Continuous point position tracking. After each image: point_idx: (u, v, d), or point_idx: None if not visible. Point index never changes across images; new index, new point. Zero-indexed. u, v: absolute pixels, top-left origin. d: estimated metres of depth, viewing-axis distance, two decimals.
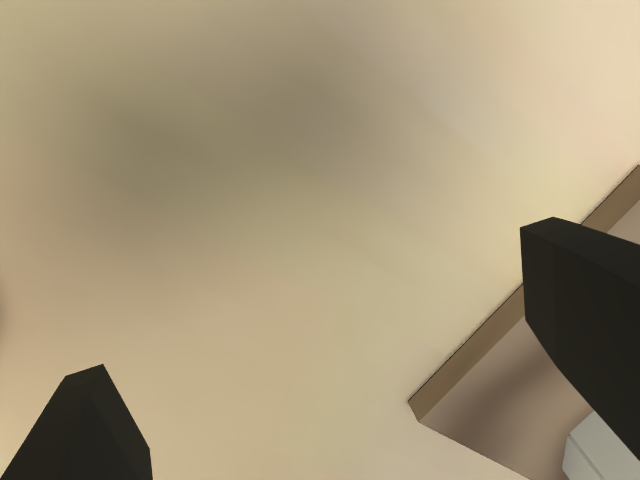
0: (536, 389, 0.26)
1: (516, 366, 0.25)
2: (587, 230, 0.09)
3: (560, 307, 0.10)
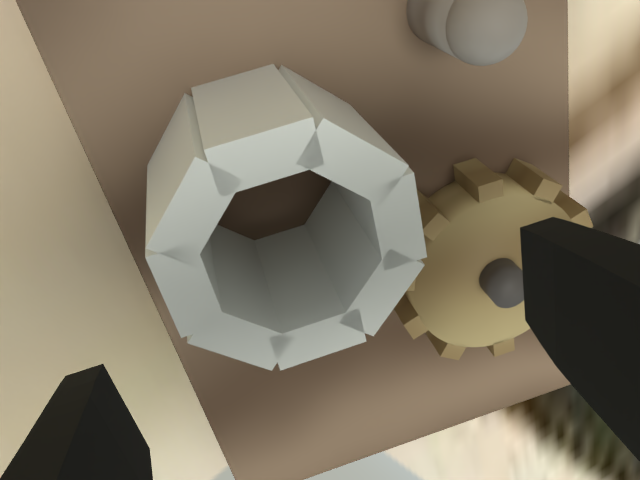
0: None
1: None
2: (587, 231, 0.09)
3: (560, 307, 0.10)
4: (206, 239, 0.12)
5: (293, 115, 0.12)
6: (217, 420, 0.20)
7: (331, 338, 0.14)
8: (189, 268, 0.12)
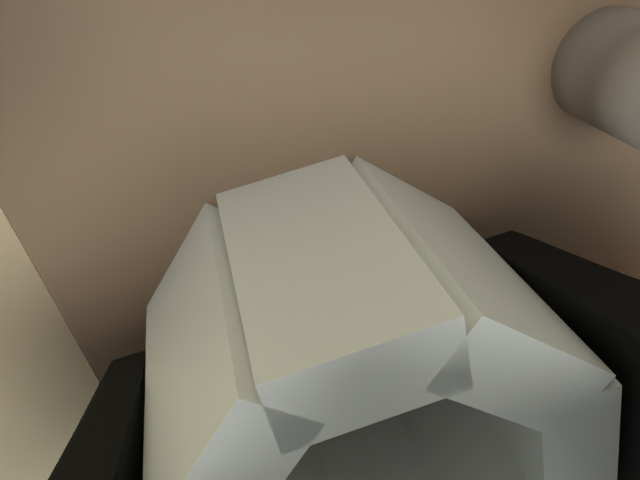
0: None
1: None
2: (541, 245, 0.09)
3: None
4: None
5: (419, 302, 0.06)
6: None
7: None
8: None
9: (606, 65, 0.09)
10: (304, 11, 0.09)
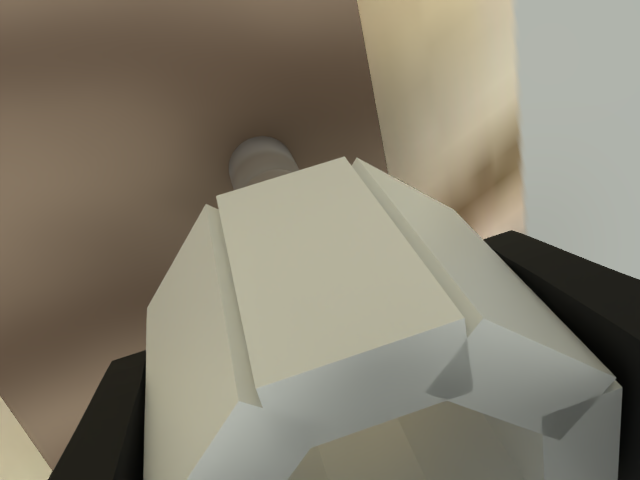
0: None
1: None
2: (541, 245, 0.09)
3: None
4: None
5: (420, 304, 0.06)
6: None
7: None
8: None
9: (235, 177, 0.16)
10: (66, 148, 0.16)
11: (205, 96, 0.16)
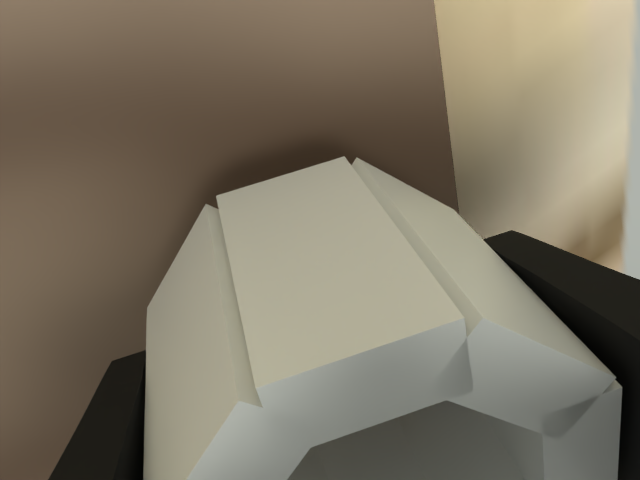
0: None
1: None
2: (541, 245, 0.09)
3: None
4: None
5: (420, 304, 0.06)
6: None
7: None
8: None
9: None
10: (32, 247, 0.11)
11: (225, 173, 0.11)
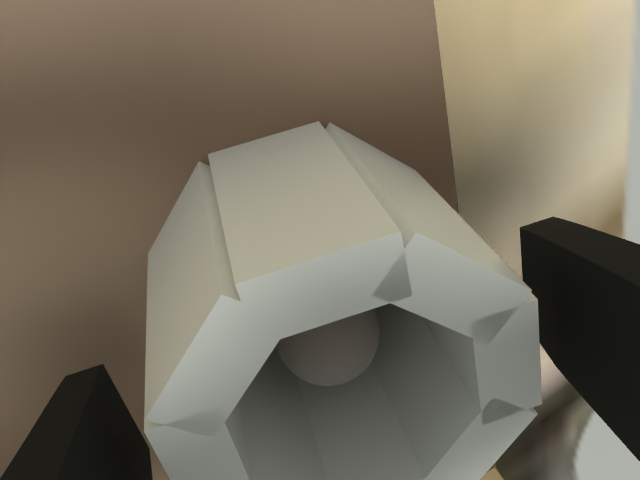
0: None
1: None
2: (586, 230, 0.09)
3: (560, 307, 0.10)
4: (235, 402, 0.08)
5: (368, 224, 0.08)
6: None
7: None
8: (209, 440, 0.08)
9: None
10: (32, 247, 0.11)
11: None
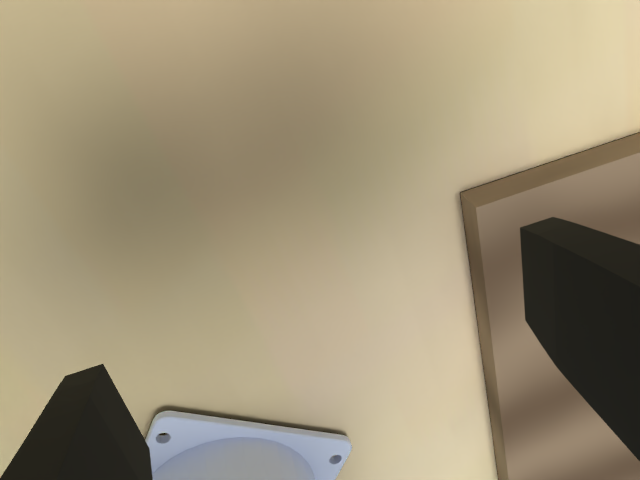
0: None
1: (595, 211, 0.21)
2: (586, 230, 0.09)
3: (560, 307, 0.10)
4: None
5: None
6: None
7: None
8: None
9: None
10: None
11: None
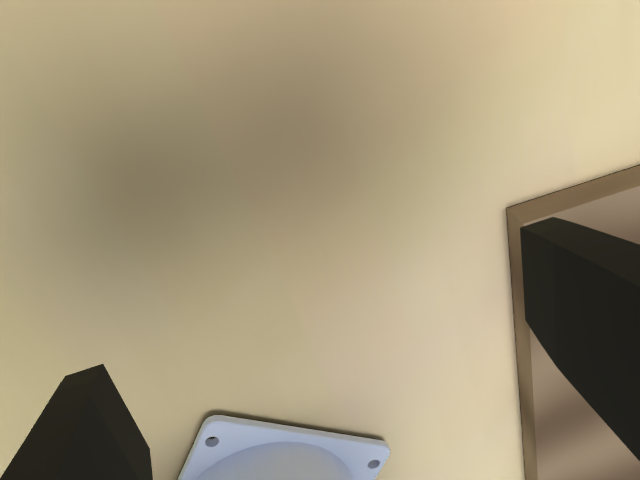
0: None
1: (635, 228, 0.22)
2: (587, 230, 0.09)
3: (560, 307, 0.10)
4: None
5: None
6: None
7: None
8: None
9: None
10: None
11: None
